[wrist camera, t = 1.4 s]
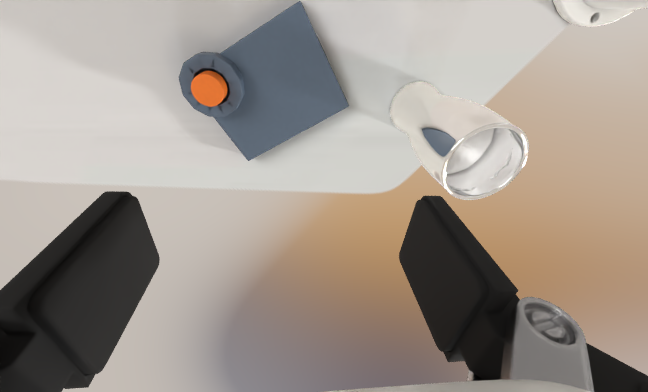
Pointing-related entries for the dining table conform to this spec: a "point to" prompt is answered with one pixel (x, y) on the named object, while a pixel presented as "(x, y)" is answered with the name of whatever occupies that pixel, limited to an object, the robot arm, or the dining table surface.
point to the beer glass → (459, 140)
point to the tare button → (209, 88)
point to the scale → (269, 83)
